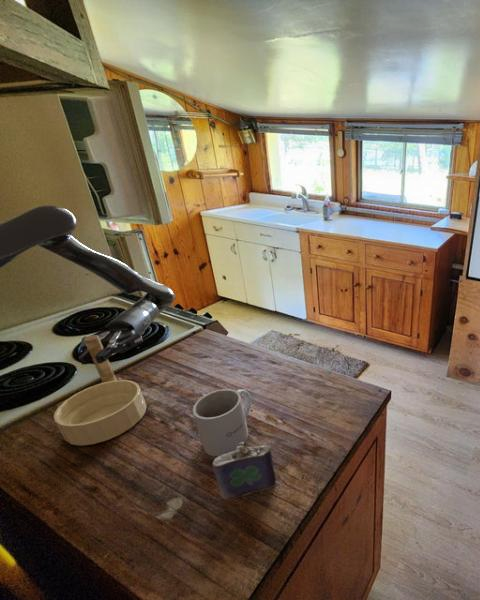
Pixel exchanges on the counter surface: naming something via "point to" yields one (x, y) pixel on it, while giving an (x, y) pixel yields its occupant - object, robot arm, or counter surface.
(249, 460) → the flask
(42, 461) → the counter surface
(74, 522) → the counter surface
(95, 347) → the stick
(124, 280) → the robot arm
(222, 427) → the mug
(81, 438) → the bowl
